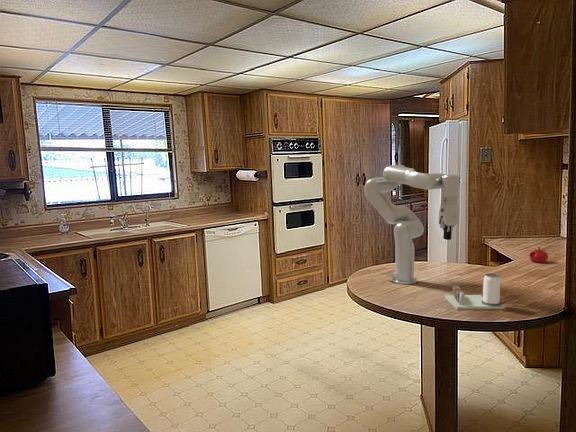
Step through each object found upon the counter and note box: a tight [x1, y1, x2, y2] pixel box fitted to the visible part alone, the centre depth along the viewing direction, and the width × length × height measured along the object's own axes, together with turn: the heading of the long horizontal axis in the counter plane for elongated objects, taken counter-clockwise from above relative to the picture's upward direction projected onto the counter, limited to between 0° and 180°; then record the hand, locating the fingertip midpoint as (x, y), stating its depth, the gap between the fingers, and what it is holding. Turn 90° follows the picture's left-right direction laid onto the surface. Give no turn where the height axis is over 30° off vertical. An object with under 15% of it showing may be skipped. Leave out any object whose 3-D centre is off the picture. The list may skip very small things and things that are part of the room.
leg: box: [452, 285, 464, 302], centre depth 194 cm, size 11×2×4 cm, turn 171°
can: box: [482, 272, 501, 304], centre depth 187 cm, size 6×6×12 cm
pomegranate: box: [528, 246, 549, 264], centre depth 263 cm, size 10×10×9 cm
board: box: [444, 282, 506, 310], centre depth 191 cm, size 20×16×7 cm
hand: (447, 239), depth 207 cm, fingers closed
